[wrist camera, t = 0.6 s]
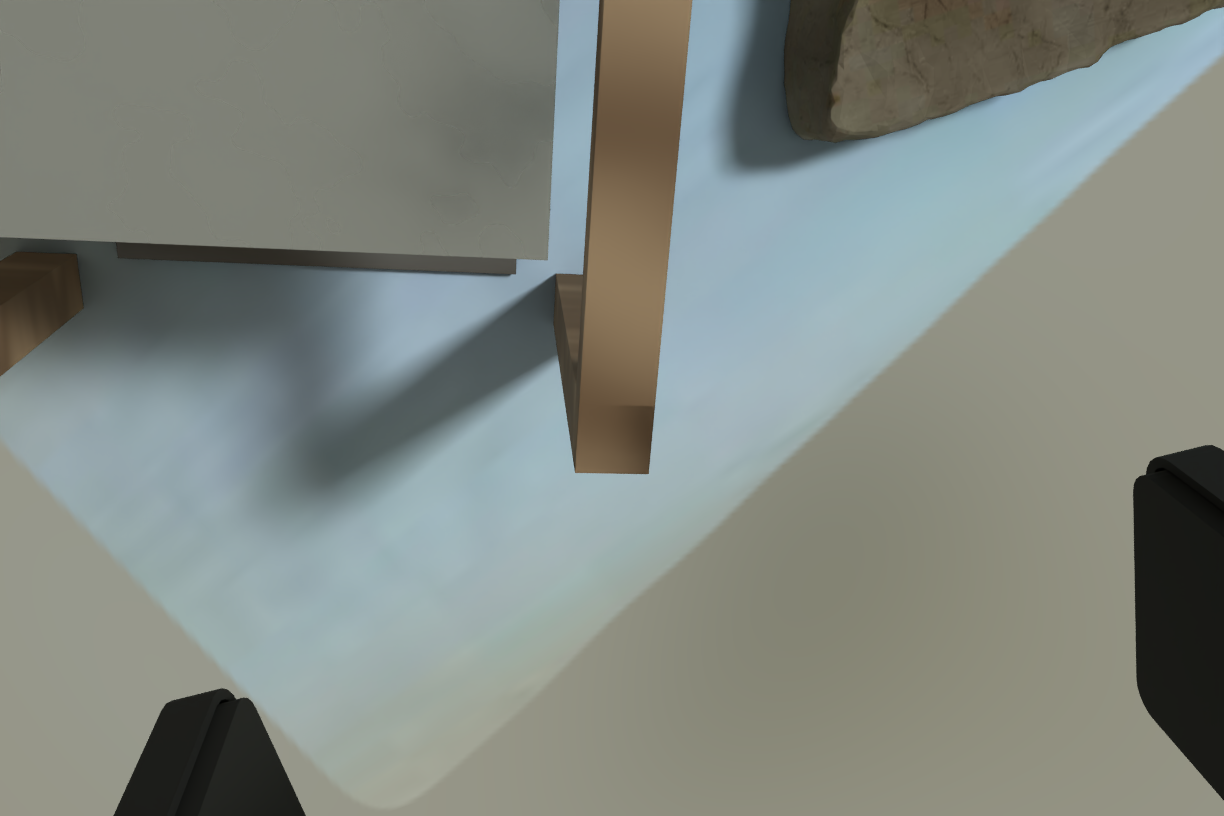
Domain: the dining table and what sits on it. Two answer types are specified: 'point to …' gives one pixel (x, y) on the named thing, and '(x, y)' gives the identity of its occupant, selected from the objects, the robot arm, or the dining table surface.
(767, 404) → the dining table surface
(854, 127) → the marble piece
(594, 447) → the frame
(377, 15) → the trapdoor plate
